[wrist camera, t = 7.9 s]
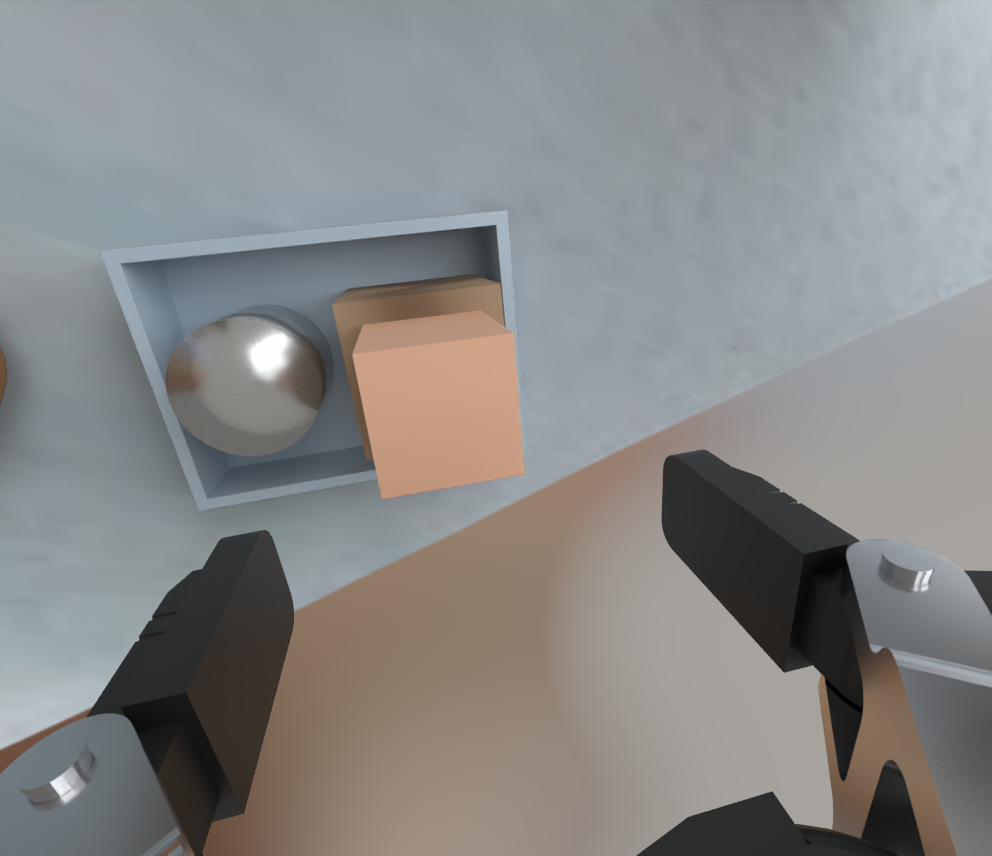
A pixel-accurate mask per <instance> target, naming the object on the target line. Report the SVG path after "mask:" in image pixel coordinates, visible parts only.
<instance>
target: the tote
mask: <svg viewBox="0 0 992 856" xmlns="http://www.w3.org/2000/svg"><path fill="white" fill-rule="evenodd" d="M99 251H100V253H101V256H102V258H103V261H104V264H105V266H106V269H107V272H108V274H109V277H110V280H111V282H112V285H113V287H114V290H115V293H116V295H117V298H118V301H119V303H120V306H121V308H122V311H123V314H124V316H125V319H126V322H127V324H128V327H129V329H130V332H131V335H132V337H133V340H134V343H135V345H136V348H137V350H138V353H139V356H140V358H141V361H142V364H143V366H144V369H145V371H146V374H147V377H148V379H149V382H150V385H151V387H152V390H153V392H154V395H155V398H156V400H157V403H158V406H159V408H160V411H161V413H162V416H163V419H164V421H165V424H166V427H167V429H168V432H169V434H170V437H171V440H172V442H173V445H174V448H175V450H176V453H177V455H178V458H179V461H180V463H181V466H182V469H183V471H184V474H185V476H186V479H187V482H188V484H189V487H190V490H191V492H192V495H193V497H194V500H195V503H196V505H197V508H198V511H202V510H208V509H213V508H219V507H225V506H230V505H236V504H241V503H247V502H253V501H258V500H264V499H269V498H275V497H281V496H286V495H292V494H297V493H303V492H309V491H314V490H320V489H325V488H331V487H337V486H342V485H348V484H353V483H359V482H365V481H370V480H376V479H378V478H377V473H376V468H375V464H374V459H371V460H366V457H365V453H364V448H363V444H362V439H361V434H360V430H359V425H358V421H357V416H356V412H355V407H354V403H353V398H352V394H351V389H350V385H349V380H348V376H347V371H346V367H345V362H344V358H343V353H342V348H341V344H340V339H339V335H338V330H337V326H336V321H335V317H334V312H333V308H332V304H333V303H334V302H335V301H336V300H337V299H338V298H339V297H340V296H341V295H342V294H343V293H344V292H345V291H346V290H347V289H349V288H358V287H366V286H375V285H383V284H392V283H400V282H409V281H417V280H426V279H434V278H443V277H451V276H459V275H468V274H473V275H476V276H479V277H482V278H485V279H488V280H491V281H494V282H497V283H500V284H501V294H502V305H503V316H504V327H506V328H507V329H509V330H510V331H511V332H513V333H514V341H515V354H516V367H517V380H518V393H519V406H520V419H521V431H522V444H523V453H527V446H526V433H525V421H524V409H523V397H522V385H521V373H520V361H519V349H518V337H517V324H516V312H515V300H514V288H513V276H512V264H511V252H510V240H509V228H508V215H507V210H504V211H494V212H484V213H474V214H463V215H453V216H443V217H433V218H423V219H413V220H403V221H393V222H382V223H372V224H362V225H352V226H342V227H332V228H322V229H312V230H301V231H291V232H281V233H271V234H261V235H251V236H241V237H231V238H220V239H210V240H200V241H190V242H180V243H170V244H160V245H150V246H139V247H129V248H119V249H109V250H99ZM256 305H277V306H283V307H286V308H289V309H292V310H294V311H296V312H299V313H300V314H302V315H304V316H305V317H307V318H308V319H309V320H311V321H312V322H313V323H314V324H315V325H316V326H317V327H318V328H319V329H320V330H321V332H322V333H323V334H324V336H325V337H326V339H327V341H328V343H329V345H330V347H331V351H332V354H333V360H334V372H333V377H332V381H331V384H330V386H329V388H328V391H327V393H326V395H325V397H324V400H323V402H322V404H321V406H320V409H319V411H318V413H317V415H316V418H315V420H314V422H313V424H312V425H311V427H310V429H309V430H308V431H307V432H306V434H305V435H304V436H303V437H302V438H301V439H299V440H298V441H297V442H296V443H294V444H293V445H291V446H290V447H288V448H286V449H284V450H281V451H279V452H276V453H272V454H268V455H262V456H241V455H234V454H230V453H226V452H223V451H220V450H217V449H215V448H213V447H211V446H209V445H207V444H205V443H204V442H202V441H200V440H199V439H198V438H196V437H195V436H194V435H192V434H191V433H190V432H189V431H188V430H187V429H186V428H185V427H184V426H183V424H182V423H181V422H180V421H179V420H178V418H177V416H176V415H175V413H174V411H173V409H172V407H171V405H170V403H169V399H168V396H167V392H166V384H165V383H166V370H167V365H168V362H169V359H170V357H171V355H172V353H173V351H174V349H175V348H176V347H177V345H178V344H179V343H180V342H181V341H182V340H183V339H184V338H185V337H186V336H187V335H188V334H190V333H191V332H193V331H194V330H196V329H198V328H200V327H202V326H204V325H206V324H209V323H211V322H214V321H216V320H218V319H221V318H223V317H226V316H228V315H230V314H233V313H235V312H238V311H240V310H242V309H245V308H248V307H251V306H256Z"/></svg>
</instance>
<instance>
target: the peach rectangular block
mask: <svg viewBox="0 0 992 856" xmlns="http://www.w3.org/2000/svg"><path fill="white" fill-rule="evenodd" d="M352 356H353V361H354V366H355V371H356V376H357V381H358V385H359V390H360V395H361V400H362V405H363V410H364V415H365V420H366V425H367V429H368V434H369V439H370V444H371V449H372V454H373V459H374V464H375V468H376V473H377V478H378V483H379V488H380V493H381V498H382V500H383V499H388V498H394V497H399V496H405V495H411V494H416V493H422V492H427V491H433V490H439V489H444V488H450V487H456V486H461V485H467V484H472V483H478V482H484V481H489V480H495V479H501V478H506V477H512V476H517V475H523V474H525V470H524V457H523V444H522V431H521V419H520V406H519V393H518V380H517V367H516V354H515V341H514V333H513V332H511V331H510V330H509V329H507V328H506V327H504V326H503V325H501V324H500V323H499V322H497V321H496V320H494V319H493V318H491V317H490V316H489V315H487V314H486V313H484V312H483V311H481V310H480V311H472V312H464V313H455V314H447V315H439V316H431V317H423V318H414V319H406V320H398V321H390V322H381V323H373V324H365V325H363V326H362V329H361V331H360V334H359V337H358V340H357V342H356V345H355V348H354V351H353V353H352Z"/></svg>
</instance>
